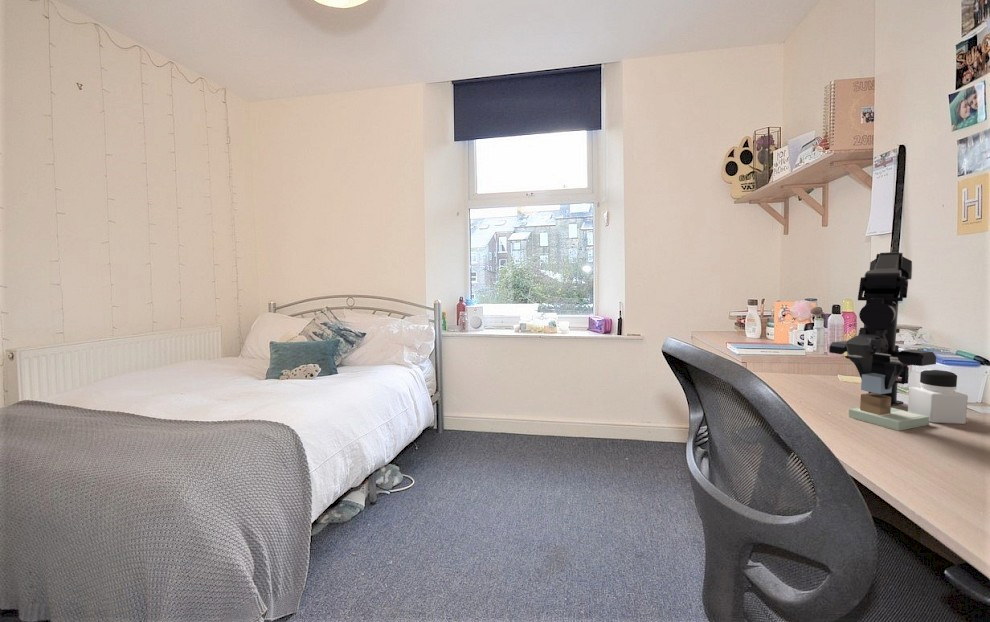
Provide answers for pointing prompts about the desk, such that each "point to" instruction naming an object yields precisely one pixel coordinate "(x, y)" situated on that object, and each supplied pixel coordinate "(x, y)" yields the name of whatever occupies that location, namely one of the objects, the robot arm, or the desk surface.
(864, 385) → the slate block
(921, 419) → the baseplate
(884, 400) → the walnut cube
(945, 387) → the medicine bottle
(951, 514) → the desk surface
